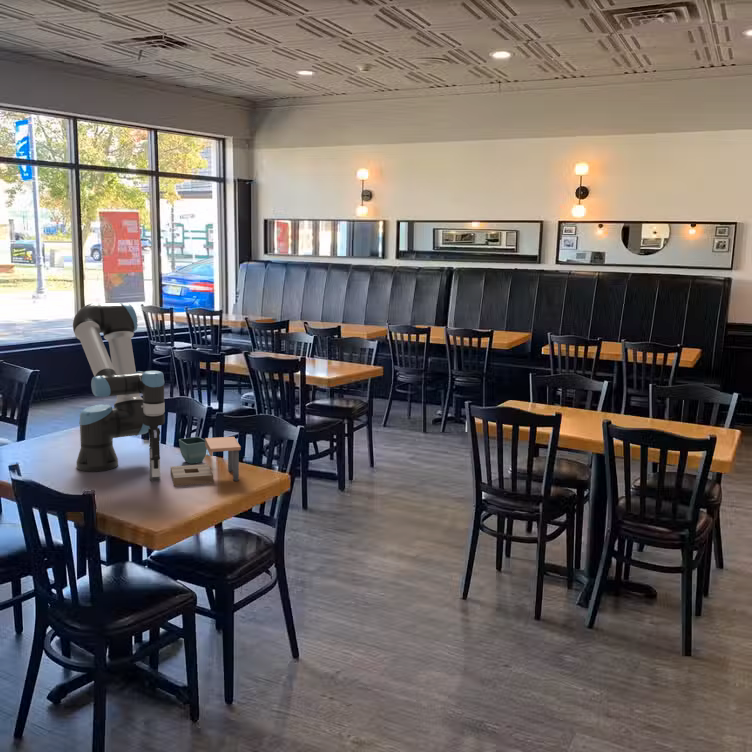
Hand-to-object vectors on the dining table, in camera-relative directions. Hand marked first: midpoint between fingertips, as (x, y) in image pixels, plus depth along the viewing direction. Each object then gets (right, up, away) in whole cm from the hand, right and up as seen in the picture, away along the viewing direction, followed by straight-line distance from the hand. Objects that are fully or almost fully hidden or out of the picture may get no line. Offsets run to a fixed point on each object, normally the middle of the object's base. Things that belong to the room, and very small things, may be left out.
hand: (154, 472), depth 281 cm
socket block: (+13, -3, +3) cm, 13 cm away
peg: (0, -3, +1) cm, 3 cm away
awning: (+24, -2, +7) cm, 25 cm away
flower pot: (+8, +1, +24) cm, 25 cm away
